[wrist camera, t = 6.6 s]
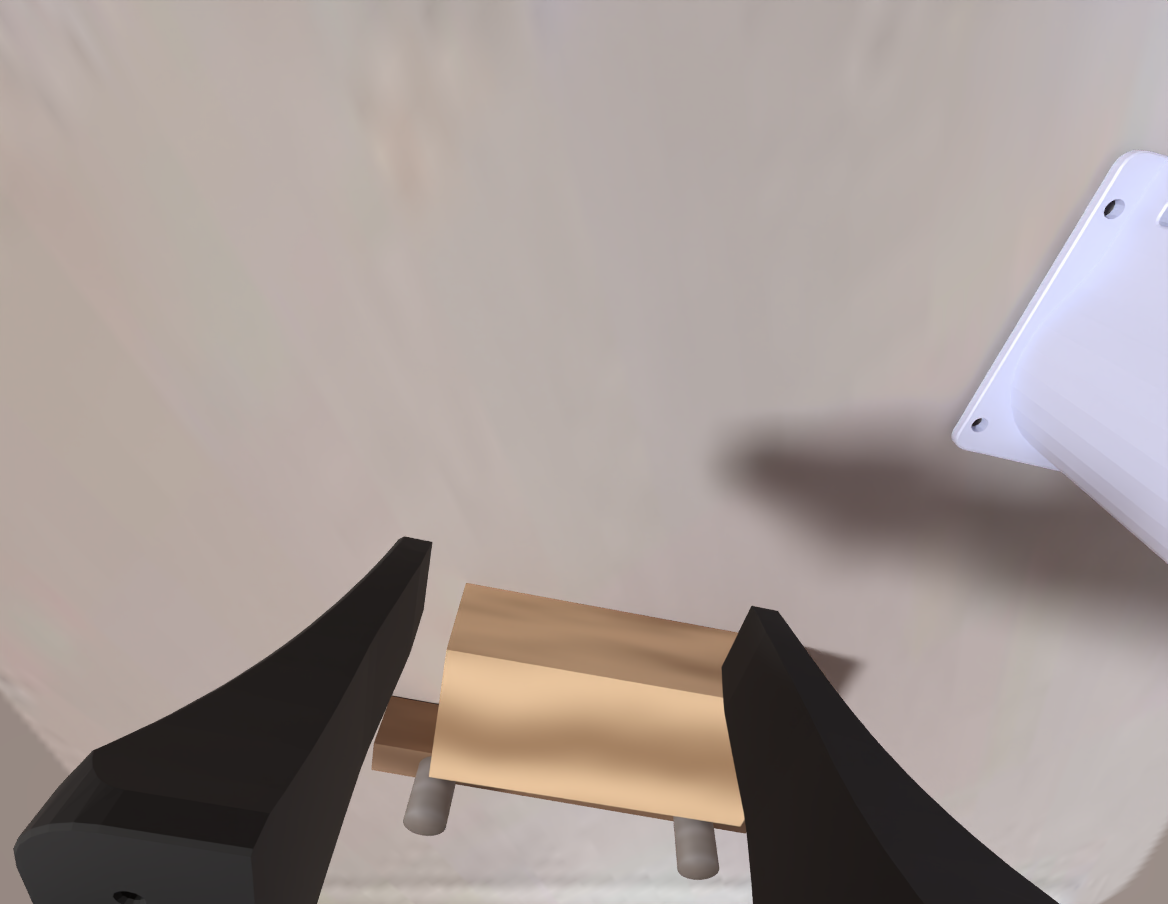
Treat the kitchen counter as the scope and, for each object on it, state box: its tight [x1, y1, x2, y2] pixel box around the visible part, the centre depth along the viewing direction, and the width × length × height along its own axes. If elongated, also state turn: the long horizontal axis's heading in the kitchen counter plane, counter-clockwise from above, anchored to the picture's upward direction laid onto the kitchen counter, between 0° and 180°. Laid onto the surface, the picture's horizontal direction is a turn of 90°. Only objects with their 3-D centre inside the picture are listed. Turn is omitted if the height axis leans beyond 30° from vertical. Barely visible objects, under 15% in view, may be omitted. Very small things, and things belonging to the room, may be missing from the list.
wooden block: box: [429, 583, 745, 826], centre depth 27 cm, size 8×14×4 cm, turn 78°
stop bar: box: [372, 696, 746, 880], centre depth 29 cm, size 2×18×5 cm, turn 77°
